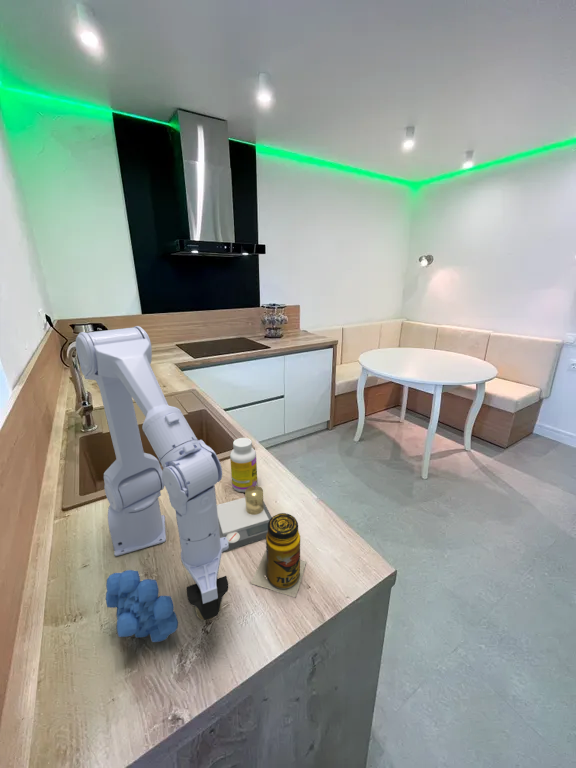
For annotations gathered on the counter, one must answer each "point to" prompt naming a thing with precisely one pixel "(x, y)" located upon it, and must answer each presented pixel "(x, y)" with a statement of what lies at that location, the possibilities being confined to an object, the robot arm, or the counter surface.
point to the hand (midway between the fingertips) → (207, 593)
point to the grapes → (140, 607)
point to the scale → (241, 523)
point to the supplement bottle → (243, 464)
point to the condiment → (281, 557)
